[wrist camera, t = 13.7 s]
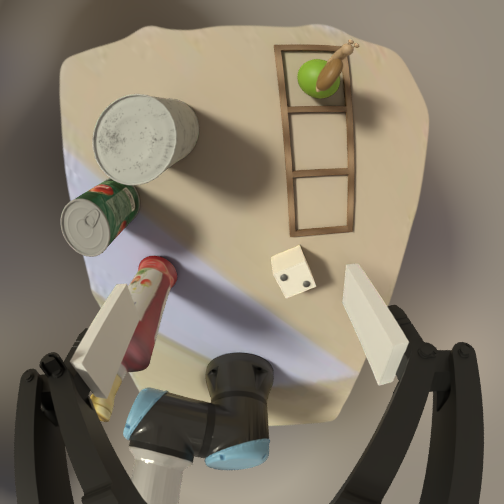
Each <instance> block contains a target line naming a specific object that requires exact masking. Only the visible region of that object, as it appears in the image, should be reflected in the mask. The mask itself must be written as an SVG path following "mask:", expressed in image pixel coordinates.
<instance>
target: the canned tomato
mask: <svg viewBox="0 0 504 504" xmlns="http://www.w3.org/2000/svg"><path fill="white" fill-rule="evenodd" d="M139 207H140V199H139V195H138V192H137V190H136V188H135V187H134V186H133V185H125V184H121V183H118V182H116V181H114V180H112V179H111V178H109V179H107V180H106V181H104V182H102V183H101V184H99V185H97V186H95V187H94V188H92V189H90V190H88V191H87V192H85V193H84V194H82V195H80V196H79V197H77V198H76V199H74V200H72V201H70V202H69V203H68V204H67V205H66V206H65V208H64V209H63V211H62V214H61V229H62V232H63V235H64V237H65V239H66V241H67V242H68V244H69V245H70V246H71V247H72V248H73V249H74V250H75V251H76V252H78V253H80V254H82V255H84V256H89V257H93V256H97V255H100V254H101V253H103V252H104V251H105V250H106V248H107V247H108V246H109V245H110V244H111V243H112V241H113V240H114V239H115V238H116V237H117V236H118V235H119V234H120V233H121V232H122V231H123V229H124V228H125V227H126V226H127V225H128V224H129V223H130V222H131V221H132V220H133V219H134V218H135V217H136V215H137V214H138V211H139Z"/></svg>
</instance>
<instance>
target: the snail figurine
mask: <svg viewBox="0 0 504 504" xmlns="http://www.w3.org/2000/svg"><path fill="white" fill-rule="evenodd" d="M348 42H349V43H350V44H349V43H348V44H344V45H343V46H342V47H341V48H340V49H338V50H337V51H336V52H335V53H334V54H333V56H332V57H331V58H330V59H329V60H328V61H325V60H320V59H314V60H310V61H308V62H306V63H304V64H303V65H302V66H301V68H300V69H299V72H298V83H299V86H300V87H301V89H302V90H303V91H304V92H305V93H306V94H308V95H309V96H311V97H315V98H326V97H329V96H331V95H333V94H334V93H335V92H336V91H337V89H338V88H339V85H340V76H339V75H340V73H341V71H342V69H343V62H342V60H344V59H345V58H346V57H347V56H348V55H350V54H352V53H353V48H354V47H356V48H358V47H359V44H358V43H355V44H354V47H353V46H352V45H351V44H353V43H354V41H353V40H349V41H348Z"/></svg>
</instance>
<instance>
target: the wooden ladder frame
mask: <svg viewBox="0 0 504 504" xmlns="http://www.w3.org/2000/svg"><path fill="white" fill-rule="evenodd" d="M341 47H342V46H329V45H274V52H275V60H276V68H277V77H278V86H279V96H280V105H281V116H282V127H283V138H284V150H285V163H286V178H287V193H288V210H289V229H290V237H295V236H306V235H317V234H328V233H340V232H352V230H353V210H354V133H353V113H352V98H351V86H350V76H349V67H348V58H347V57H346V58H345V59H344V60H342V62H343V69H342V73H343V83H344V94H345V106H297V107H287V100H286V90H285V81H284V72H283V63H282V55H281V51H331V52H336V51H337V50H338V49H340V48H341ZM289 112H346V124H347V150H348V168H337V169H315V170H298V171H292V160H291V146H290V133H289V122H288V113H289ZM344 174H348V206H347V226H336V227H324V228H312V229H301V230H295V211H294V192H293V177H304V176H321V175H344Z"/></svg>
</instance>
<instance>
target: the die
mask: <svg viewBox="0 0 504 504" xmlns="http://www.w3.org/2000/svg"><path fill="white" fill-rule="evenodd" d="M271 263H272V270H273V275H274V277H275V279H276V281H277V283H278V284H279V286H280V288H281V290H282V292H283V294H284V296H285V298H289V297H291V296H294V295H296V294H299V293H301V292H304V291H306V290H309V289H311V288H314V287H316V284H315V281H314V278H313V275H312V273H311V270H310V267H309V265H308V263H307V260H306V258H305V256H304V253H303V251H302V249H301V247H300V245H298V246H296V247H293V248H291V249H288V250H286V251H284V252H281V253H279V254H277V255H274V256H272V257H271Z"/></svg>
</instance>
